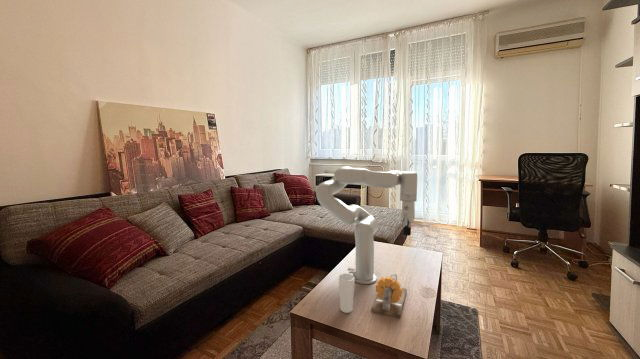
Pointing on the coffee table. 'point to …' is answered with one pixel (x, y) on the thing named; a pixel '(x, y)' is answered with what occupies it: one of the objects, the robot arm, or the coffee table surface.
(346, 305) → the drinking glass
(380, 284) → the collar
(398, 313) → the pipe stand
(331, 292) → the coffee table surface
